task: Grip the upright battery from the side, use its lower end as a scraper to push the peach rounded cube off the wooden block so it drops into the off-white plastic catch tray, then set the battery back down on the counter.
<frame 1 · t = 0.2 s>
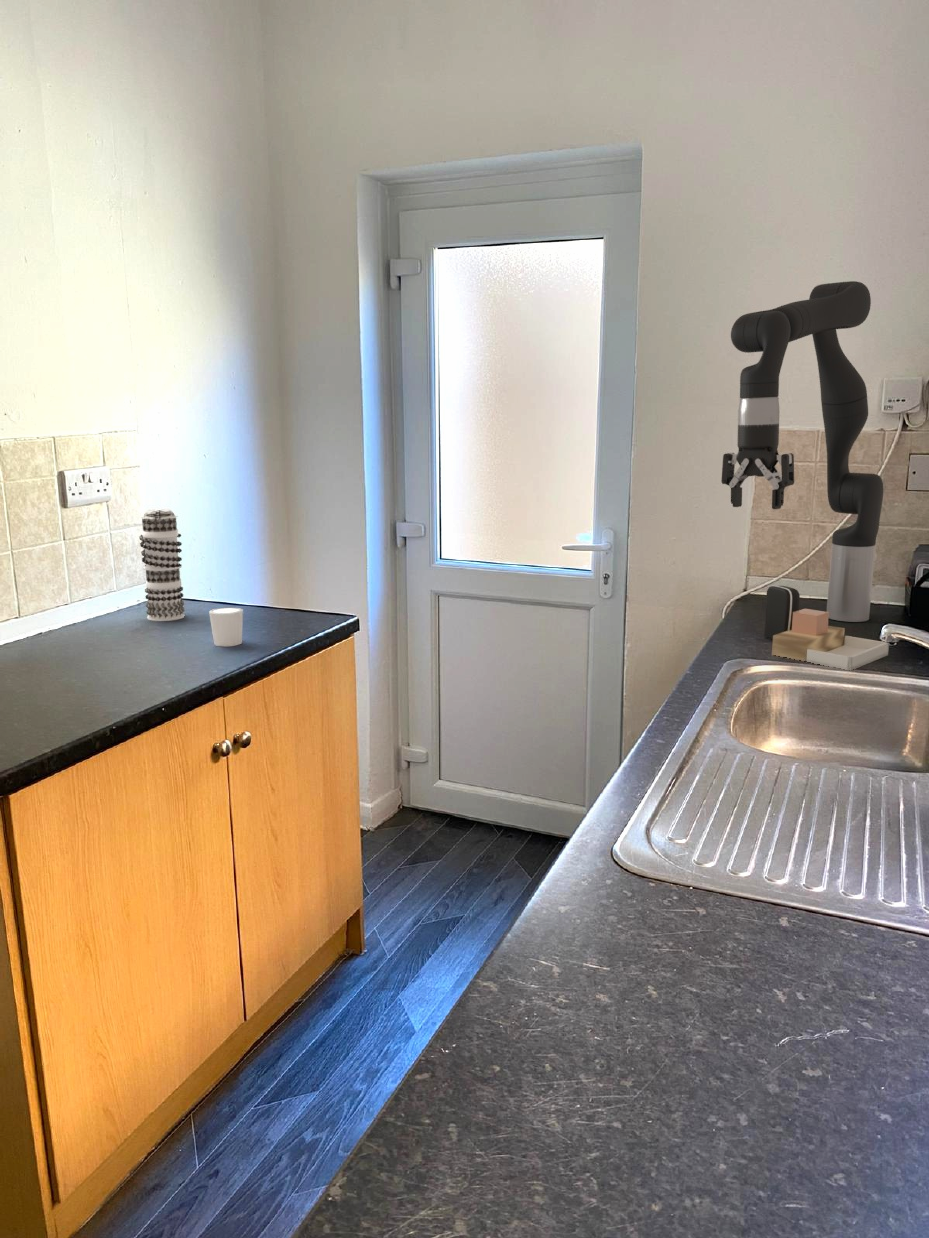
hand: (756, 507, 185), 29 cm above the worktop, tool pointing down, fingers open, 8 cm apart
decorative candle: (165, 618, 224), on the worktop
peach rounded cube: (809, 631, 190), point 4 cm above the worktop, touching wooden block
battery: (780, 641, 200), on the worktop
shot glass: (228, 644, 199), on the worktop
wooden block: (808, 651, 191), on the worktop
tray: (847, 658, 185), on the worktop
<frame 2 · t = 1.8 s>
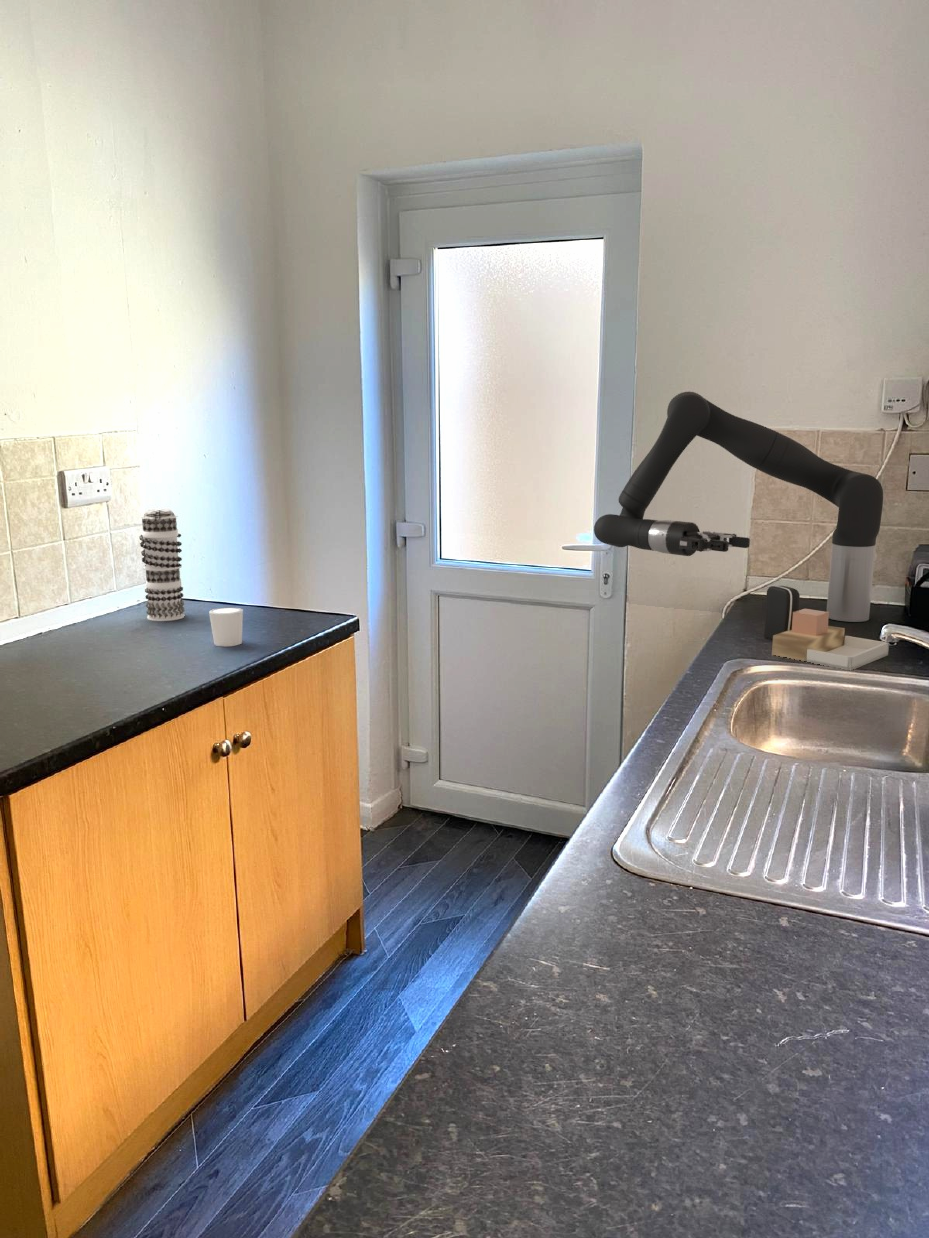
hand: (738, 544, 204), 19 cm above the worktop, tool horizontal, fingers open, 8 cm apart
nothing on the worktop moved.
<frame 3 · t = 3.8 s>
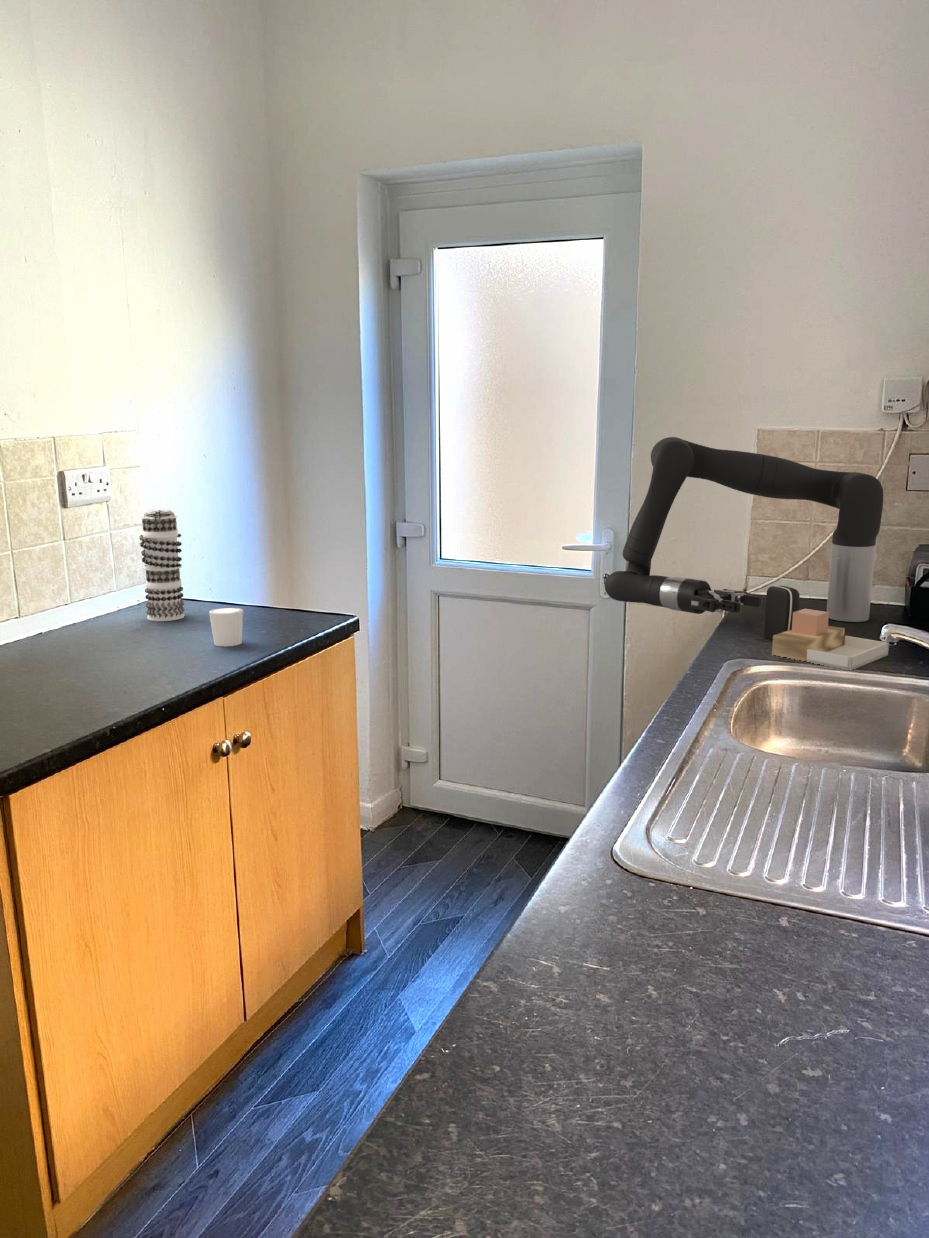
hand: (749, 604, 204), 6 cm above the worktop, tool horizontal, fingers open, 8 cm apart
nothing on the worktop moved.
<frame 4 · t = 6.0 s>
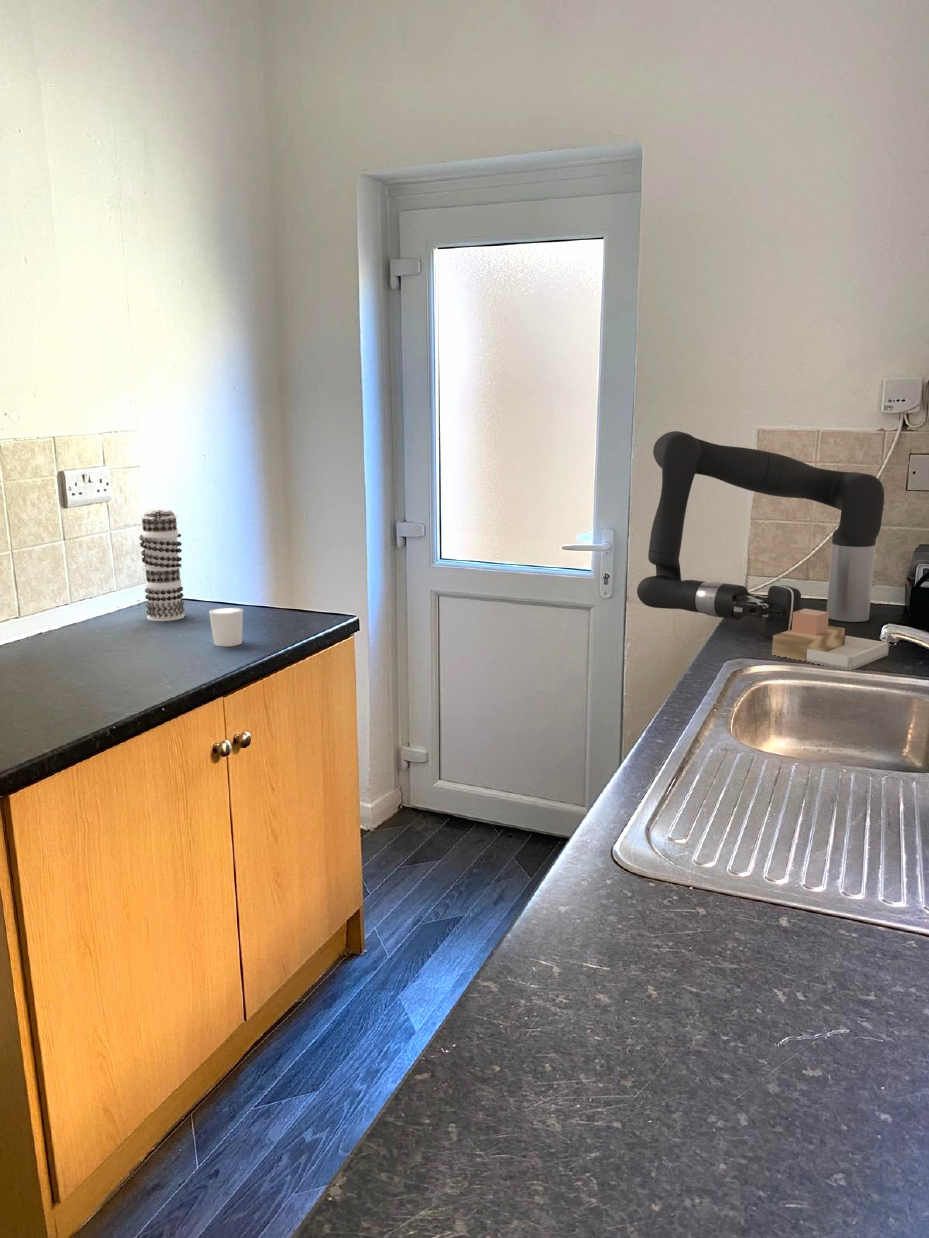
hand: (794, 611, 197), 7 cm above the worktop, tool horizontal, fingers closed on battery, 5 cm apart
battery: (780, 641, 200), on the worktop, touching gripper
everything else where it was.
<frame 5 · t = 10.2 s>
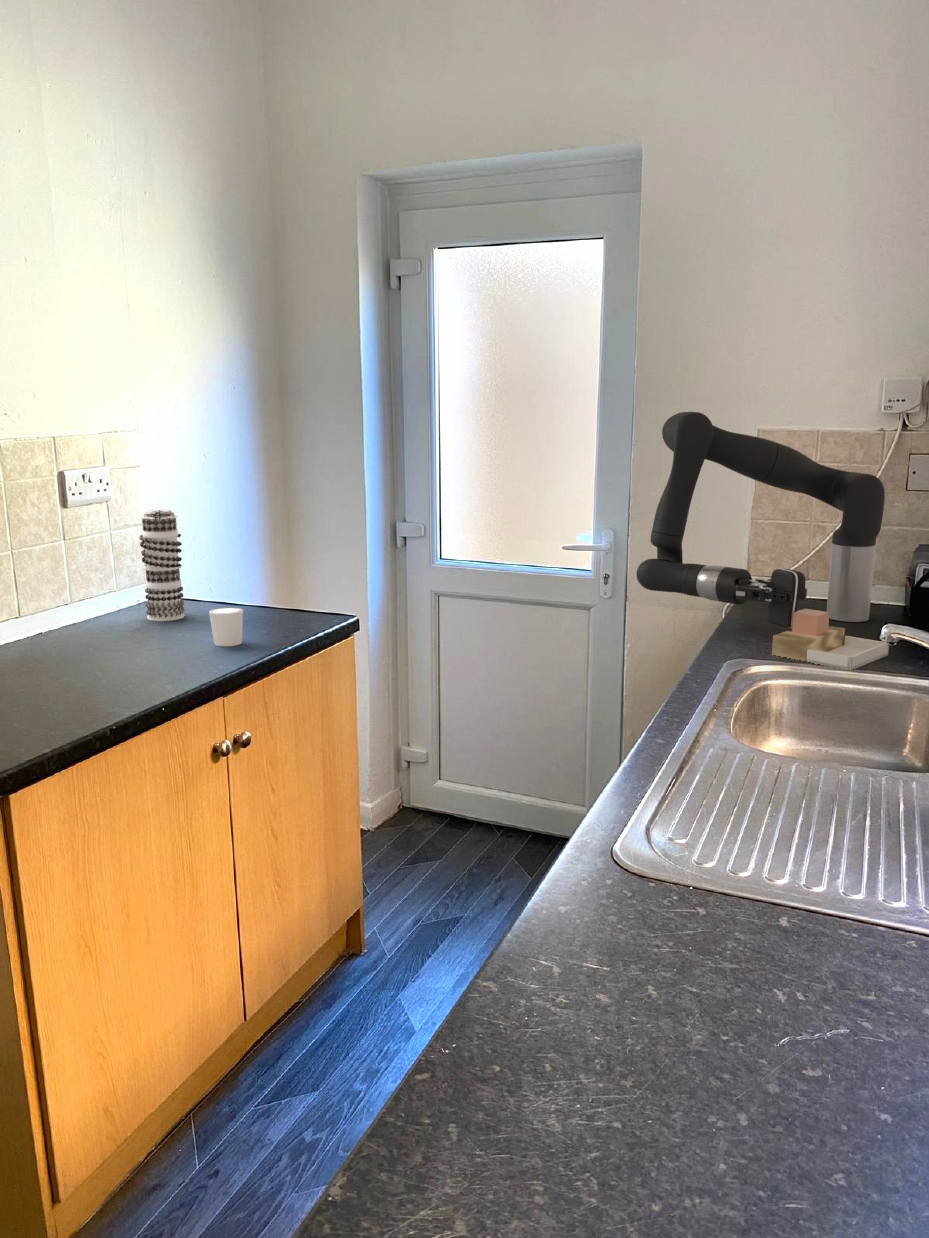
hand: (798, 595, 191), 11 cm above the worktop, tool horizontal, fingers closed on battery, 5 cm apart
peach rounded cube: (809, 631, 190), point 4 cm above the worktop
battery: (784, 626, 194), point 4 cm above the worktop, touching gripper
everything else where it was.
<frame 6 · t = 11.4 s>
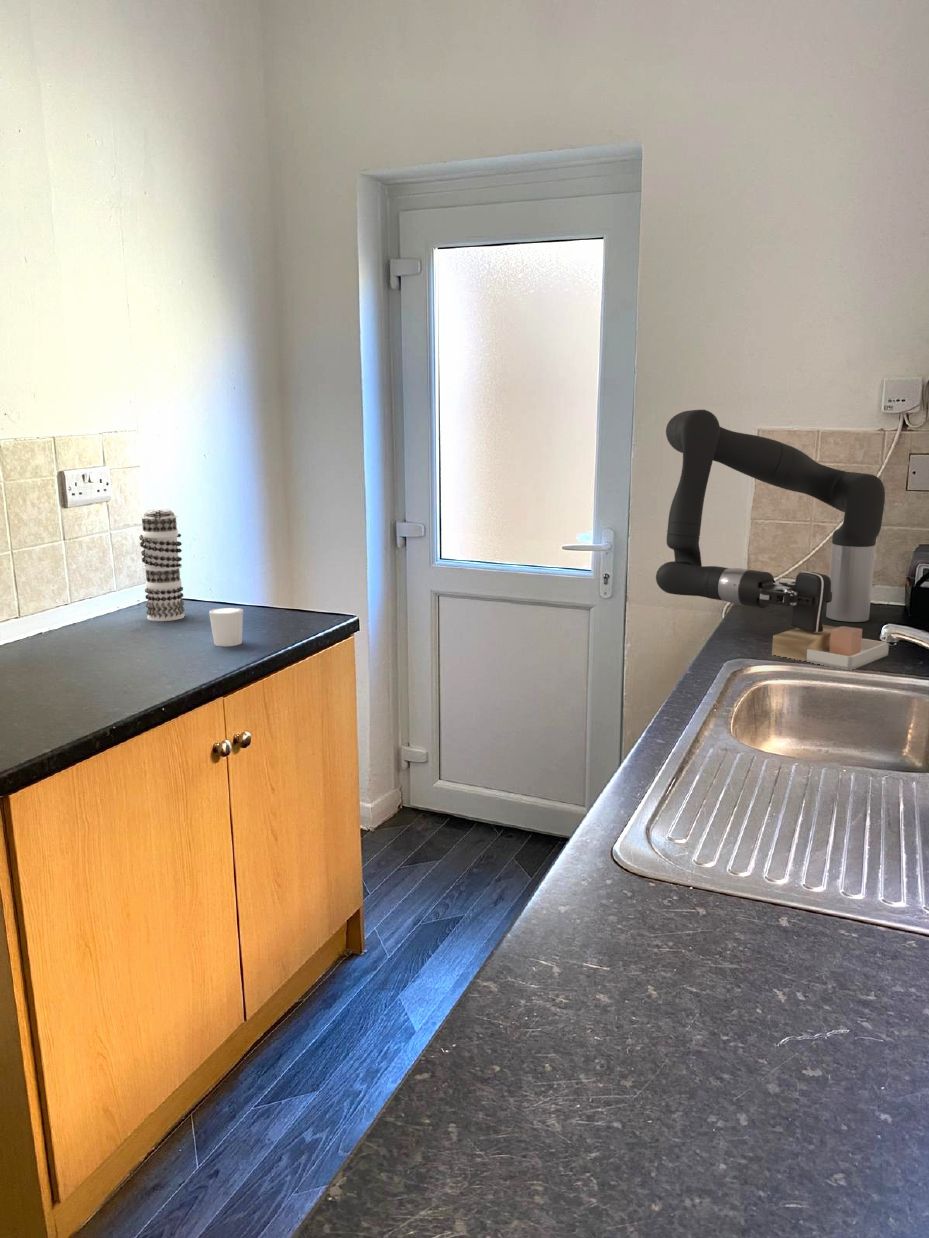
hand: (823, 599, 187), 11 cm above the worktop, tool horizontal, fingers closed on battery, 5 cm apart
peach rounded cube: (835, 640, 187), point 3 cm above the worktop, tilted 90°, touching tray
battery: (808, 630, 190), point 4 cm above the worktop, touching gripper
everything else where it was.
when the fingers open (7 cm above the worktop, at t = 14.4 s): battery stays where it is, on the worktop.
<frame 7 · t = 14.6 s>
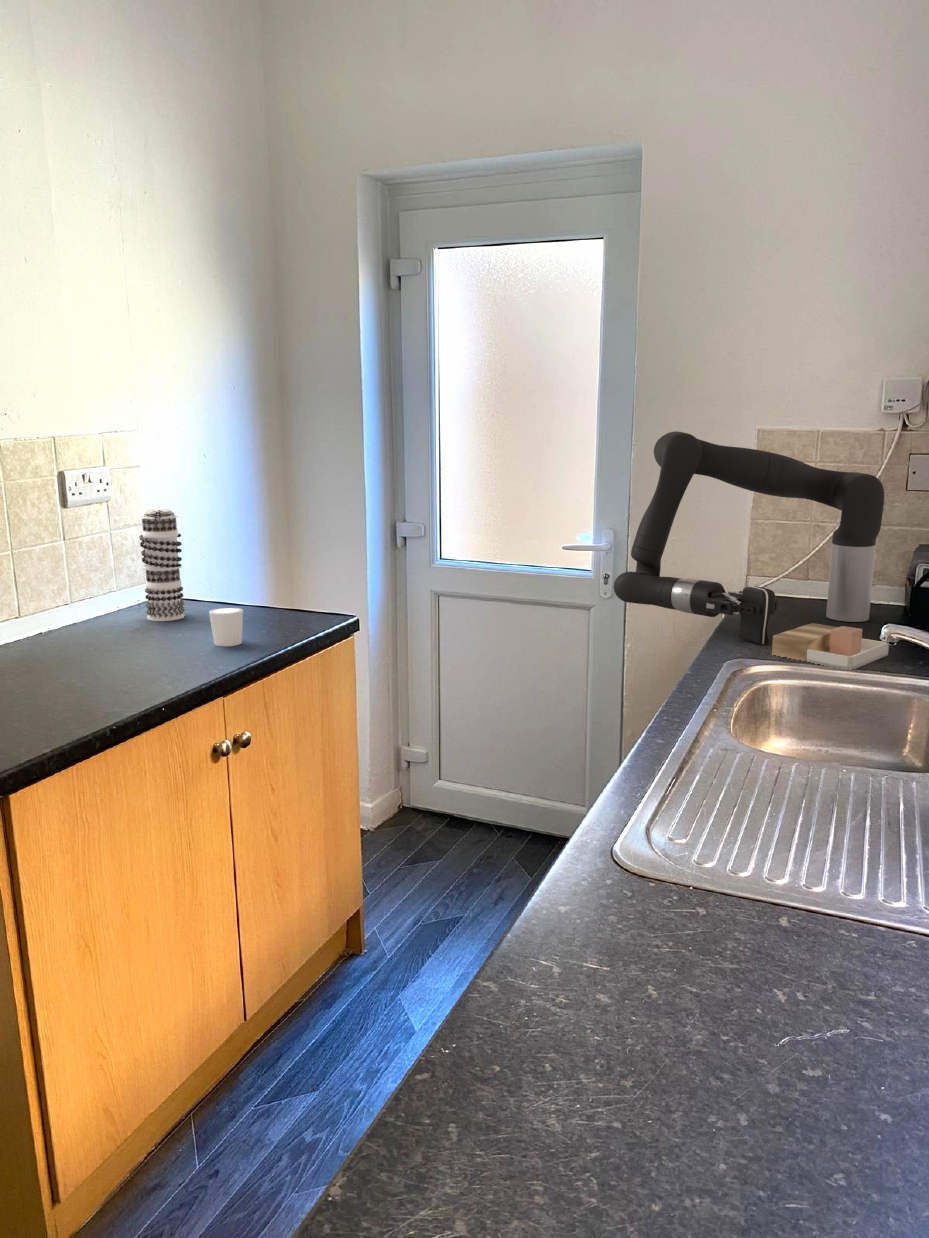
hand: (767, 607, 196), 7 cm above the worktop, tool horizontal, fingers open, 7 cm apart
battery: (755, 642, 199), on the worktop
everything else where it was.
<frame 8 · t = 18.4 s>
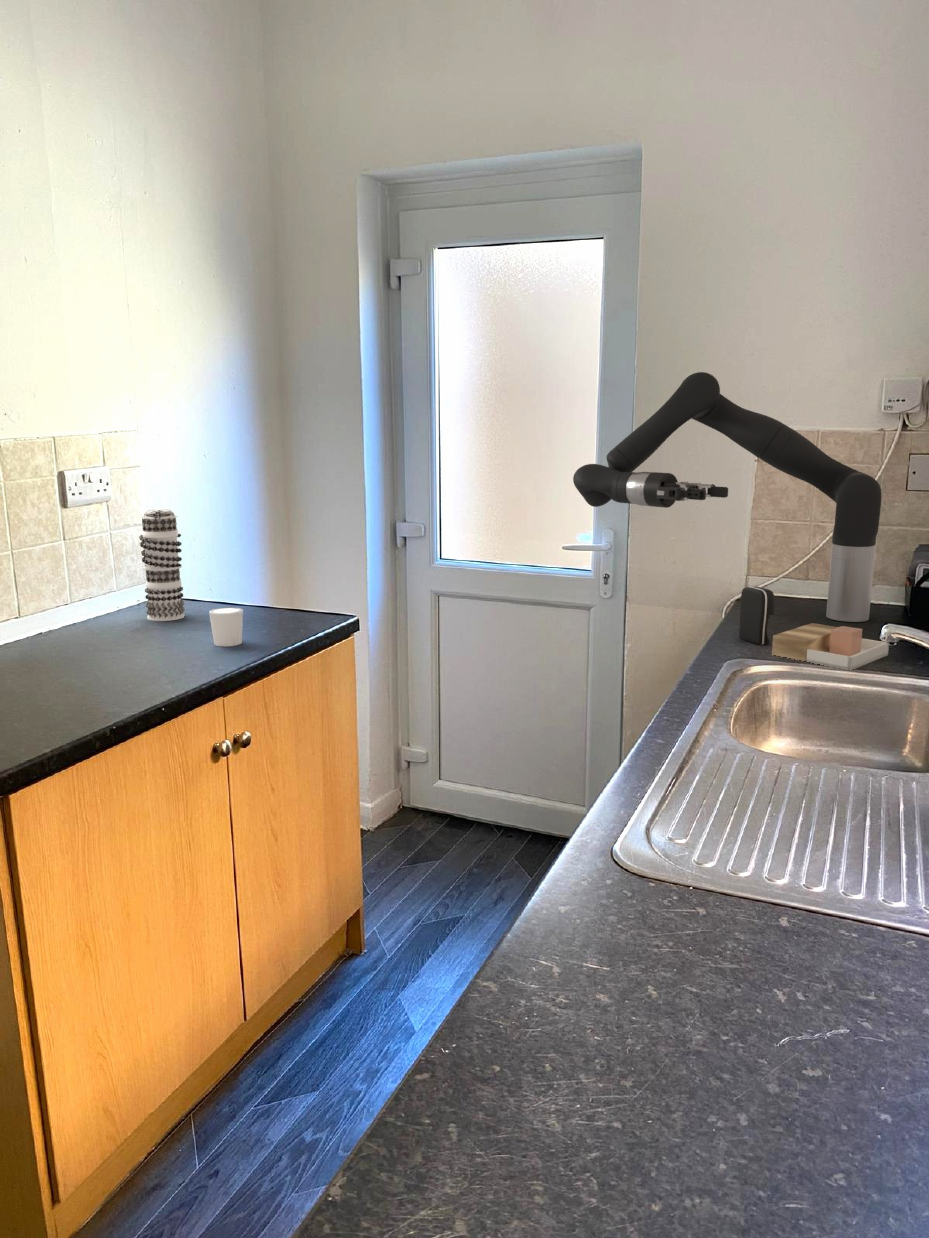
hand: (716, 493, 201), 30 cm above the worktop, tool horizontal, fingers open, 8 cm apart
nothing on the worktop moved.
at the end: peach rounded cube inside the target area on the tray (2.9 cm from its centre), point 3.1 cm above the tray's base; the gripper is holding nothing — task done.
